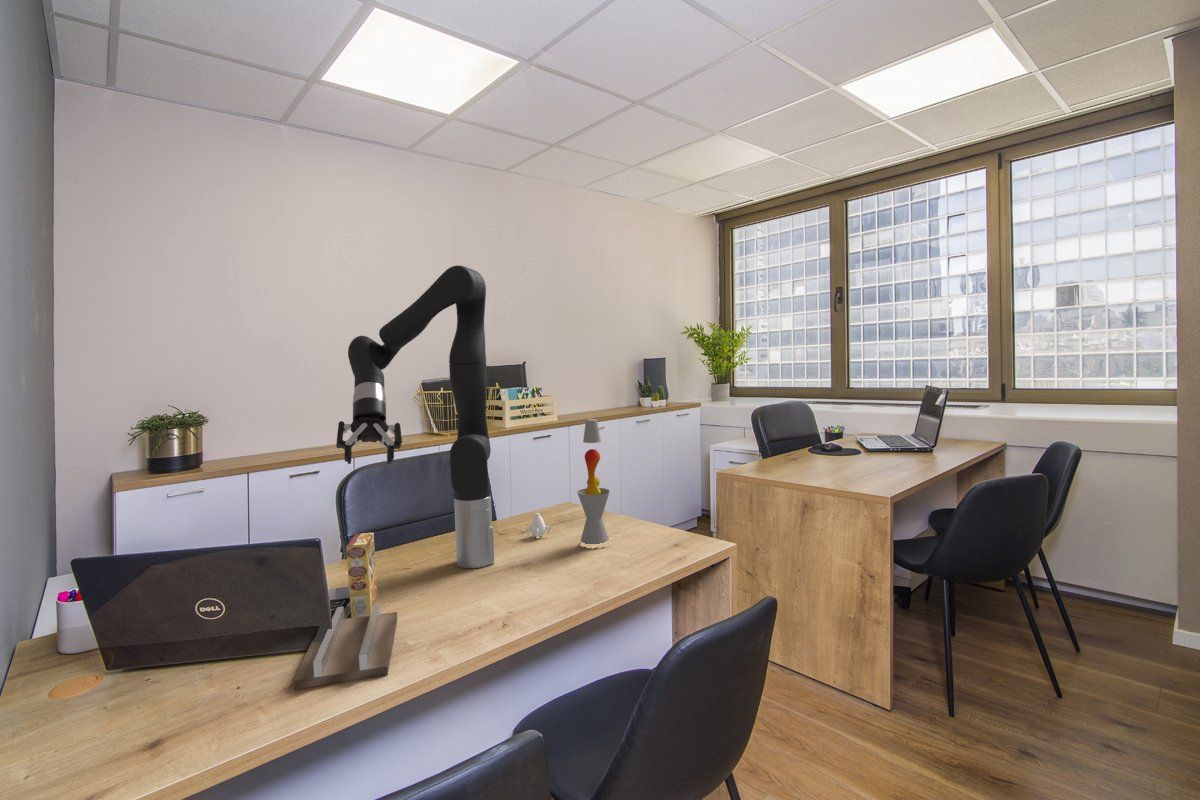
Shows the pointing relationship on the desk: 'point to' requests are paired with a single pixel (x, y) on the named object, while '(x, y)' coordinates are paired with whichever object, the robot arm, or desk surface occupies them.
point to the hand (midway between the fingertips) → (369, 462)
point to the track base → (349, 650)
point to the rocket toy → (537, 526)
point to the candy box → (362, 574)
